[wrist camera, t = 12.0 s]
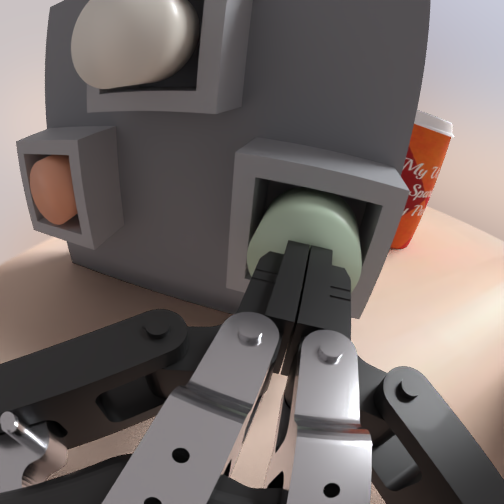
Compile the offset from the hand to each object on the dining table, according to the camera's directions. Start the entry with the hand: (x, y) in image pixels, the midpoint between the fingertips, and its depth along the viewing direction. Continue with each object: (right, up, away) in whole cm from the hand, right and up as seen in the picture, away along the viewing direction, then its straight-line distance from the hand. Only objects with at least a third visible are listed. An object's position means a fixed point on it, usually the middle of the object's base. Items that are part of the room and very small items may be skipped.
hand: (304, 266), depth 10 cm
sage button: (0, -1, +2) cm, 2 cm away
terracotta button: (-13, +3, +5) cm, 14 cm away
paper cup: (+13, +2, +20) cm, 24 cm away
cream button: (-6, +6, -1) cm, 9 cm away
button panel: (-6, -3, +9) cm, 12 cm away
